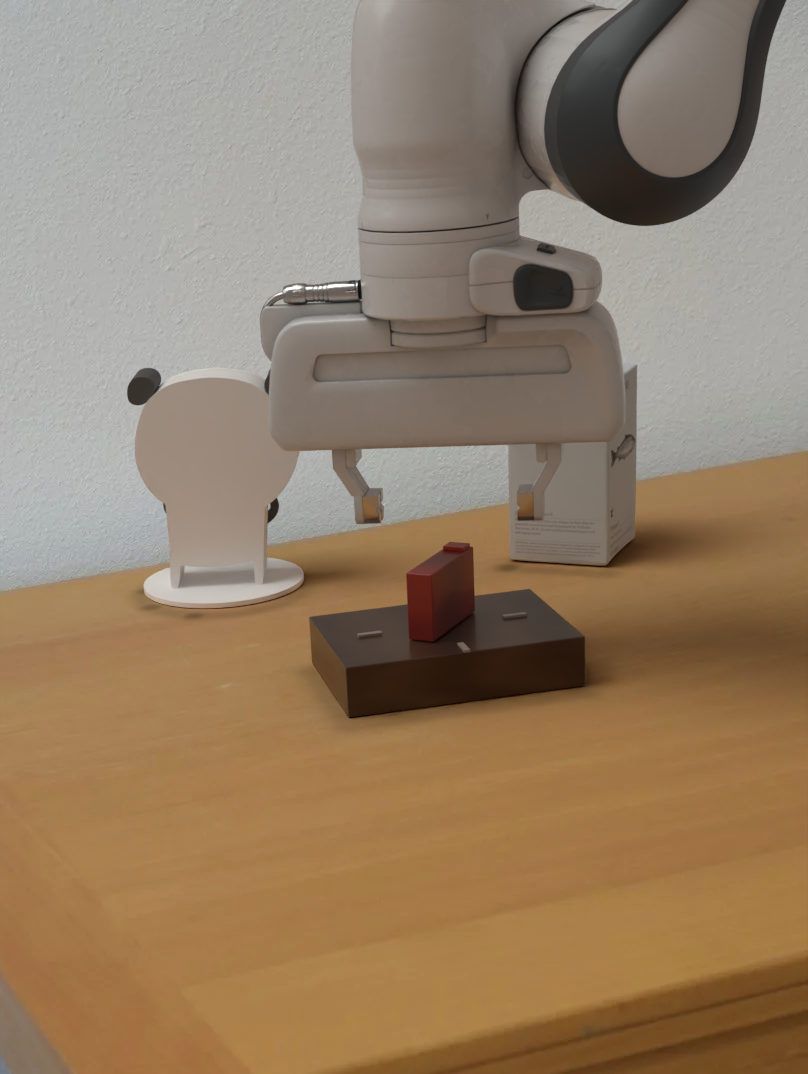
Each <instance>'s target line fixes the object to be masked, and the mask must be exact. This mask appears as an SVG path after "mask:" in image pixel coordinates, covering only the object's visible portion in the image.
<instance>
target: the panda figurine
mask: <svg viewBox="0 0 808 1074" xmlns="http://www.w3.org/2000/svg"><path fill="white" fill-rule="evenodd" d="M270 370H271V367H270V368H269V369H268V372H267V374H266V378H263V377H262V376H260V375H258V374H256V373H255V372H252V371H248V370H244V369H240V368H239V369H238V368H232V367H205V368H197V369H191V370H187V371H183V372H179V373H177V374H174V375H173V376H170V377H168V378H167V379H165V381H163V382H162V376H161V373H160V372H159V370H157V369H156V368H153V367H143V368H141V369H139V370H138V371H137V372H136V373H135V374H134V376H133V377H132V379H131V380H130V381H129V383H128V384H127V388H126V397H127V400H128V402H129V403H130V404H131V405H133V406H143V405H144V406H143V407H142V409H141V412H140V415H139V419H138V422H137V427H136V430H135V431H136V432H135V439H134V458H135V463H136V467H137V471H138V473H139V476H140V478H141V480H142V481H143V483H144V485H145V487H146V489H148V491H149V492H150V493H151V495H153V496H154V498H156V499H158V501H160V502H161V503H162V506H163V511H164V513H165V515H166V525H167V535H168V547H169V548H168V550H169V567H165V568H163V569H161V570H158V571H156V572H154V573H153V574H152V575H150V576H149V577H147V578H146V579H145V580H144V582H143V593H144V595H145V596H146V597H147V598H148V599H149V600H151V601H154V602H155V603H158V604H162V605H165V606H171V607H176V608H184V609H185V608H187V609H222V608H234V607H241V606H248V605H253V604H259V603H264V602H267V601H271V600H274V599H278V598H280V597H283V596H286V595H288V594H290V593H292V592H294V591H295V590H297V589H298V588H300V587H301V586H302V585H303V584H304V580H305V573H304V572H305V571H304V570H303V569H302V568H301V566H299V565H298V564H296V563H293V562H291V561H288V560H285V559H280V558H274V557H268V529H269V528H268V526H269V524H270V523H271V522H272V521H273V520H274V519H275V518H276V517H277V515H278V513H279V509H280V502H279V499H278V497H279V496H280V494H281V493H282V492H283V491H284V490H285V488H286V487H287V485H288V484H289V483H290V481H291V478H292V477H293V474H294V472H295V470H296V467H297V463H298V459H299V456H300V451H284V450H282V449H281V448H280V447H279V445H278V444H277V443H276V442H275V441H274V440H273V439H272V437H271V436H270V432H269V382H270Z"/></svg>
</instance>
